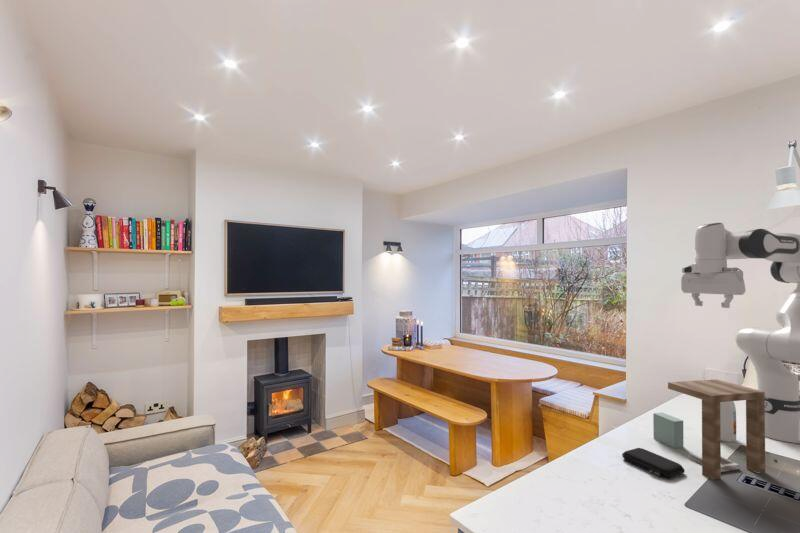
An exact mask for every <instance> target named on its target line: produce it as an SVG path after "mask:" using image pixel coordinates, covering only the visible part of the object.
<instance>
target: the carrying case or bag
mask: <svg viewBox="0 0 800 533" xmlns="http://www.w3.org/2000/svg"><path fill="white" fill-rule="evenodd" d="M622 458H623V459H624V460H625V461H626V462H628V463H629V464H632V465H634V466H636V467H638V468H641V469H643V470H645V471H648V472H649V473H650V474H654V475H656V476H658V477H660V478H662V479H666V480H670V479H673V478H676V477H678V476H681V475H682V474H684V473H685V471H686V470H685V468H684V467H683V466H682V465H681V464H680V463H679V462H676V461H674V460H671V459H669V458H666V457H665V456H662V455H659V454H657V453H654V452H652V451H650V450H647V449H645V448H641V447H636V448H633V449H630V450H629V449H628V450H626V451H624V452H622Z"/></svg>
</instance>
